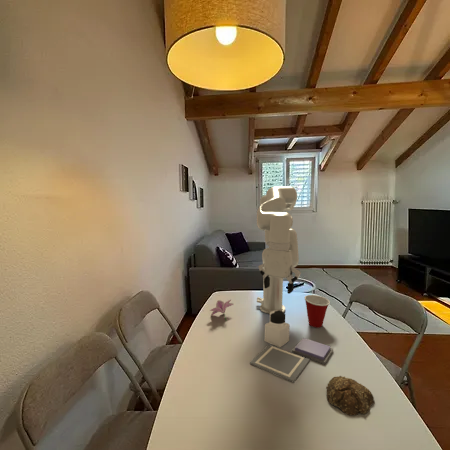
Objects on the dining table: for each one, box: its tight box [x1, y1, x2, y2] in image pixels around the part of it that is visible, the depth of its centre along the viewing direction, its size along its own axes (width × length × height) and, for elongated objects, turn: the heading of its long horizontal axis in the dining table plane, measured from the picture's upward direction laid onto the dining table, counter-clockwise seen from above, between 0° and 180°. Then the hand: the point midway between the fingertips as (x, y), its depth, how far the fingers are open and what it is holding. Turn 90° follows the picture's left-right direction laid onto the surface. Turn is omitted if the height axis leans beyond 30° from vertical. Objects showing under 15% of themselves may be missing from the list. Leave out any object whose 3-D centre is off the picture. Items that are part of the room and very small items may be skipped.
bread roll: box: [325, 375, 375, 416], centre depth 80 cm, size 13×12×5 cm
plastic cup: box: [304, 294, 331, 329], centre depth 124 cm, size 11×11×12 cm
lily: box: [209, 299, 234, 322], centre depth 131 cm, size 12×12×10 cm
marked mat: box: [249, 344, 311, 383], centre depth 97 cm, size 16×14×1 cm
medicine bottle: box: [264, 310, 290, 349], centre depth 110 cm, size 7×7×12 cm
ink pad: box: [291, 337, 334, 365], centre depth 103 cm, size 12×10×2 cm
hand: (278, 289), depth 108 cm, fingers open, 9 cm apart
